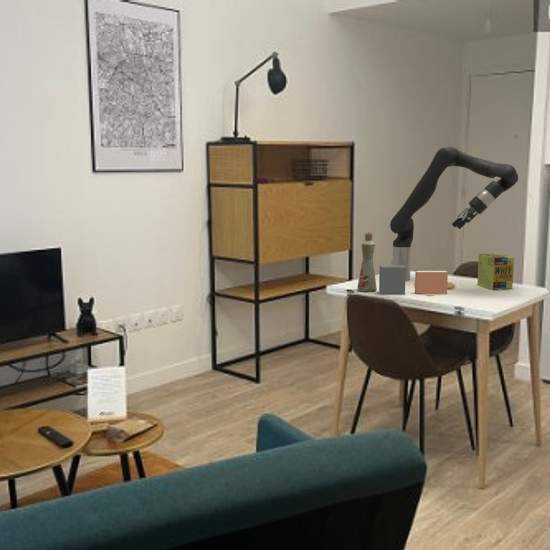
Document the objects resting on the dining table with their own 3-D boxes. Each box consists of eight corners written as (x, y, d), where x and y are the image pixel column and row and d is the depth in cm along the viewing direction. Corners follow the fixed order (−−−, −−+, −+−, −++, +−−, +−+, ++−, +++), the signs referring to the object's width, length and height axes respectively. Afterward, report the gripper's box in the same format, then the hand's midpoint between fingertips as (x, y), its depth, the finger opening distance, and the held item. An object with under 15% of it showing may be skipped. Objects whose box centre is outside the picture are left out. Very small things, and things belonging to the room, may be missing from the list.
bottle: (375, 293, 313) (377, 233, 308) (356, 292, 315) (357, 232, 311) (377, 290, 321) (378, 231, 317) (358, 289, 323) (359, 231, 319)
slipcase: (380, 295, 308) (381, 267, 306) (379, 292, 315) (379, 265, 313) (405, 295, 308) (405, 267, 306) (402, 292, 314) (403, 265, 312)
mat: (414, 293, 313) (414, 292, 313) (431, 291, 317) (431, 290, 317) (429, 296, 304) (429, 295, 304) (445, 294, 309) (446, 293, 309)
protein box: (492, 290, 319) (494, 257, 317) (477, 284, 334) (478, 253, 332) (513, 289, 321) (514, 257, 319) (496, 284, 336) (497, 253, 334)
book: (416, 293, 309) (416, 272, 308) (414, 292, 313) (415, 270, 311) (446, 293, 309) (447, 272, 307) (445, 292, 312) (445, 270, 311)
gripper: (472, 194, 313) (446, 219, 315) (480, 196, 299) (453, 222, 301) (483, 206, 313) (457, 231, 316) (492, 208, 299) (465, 234, 301)
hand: (455, 226), depth 308 cm, fingers open, 8 cm apart
